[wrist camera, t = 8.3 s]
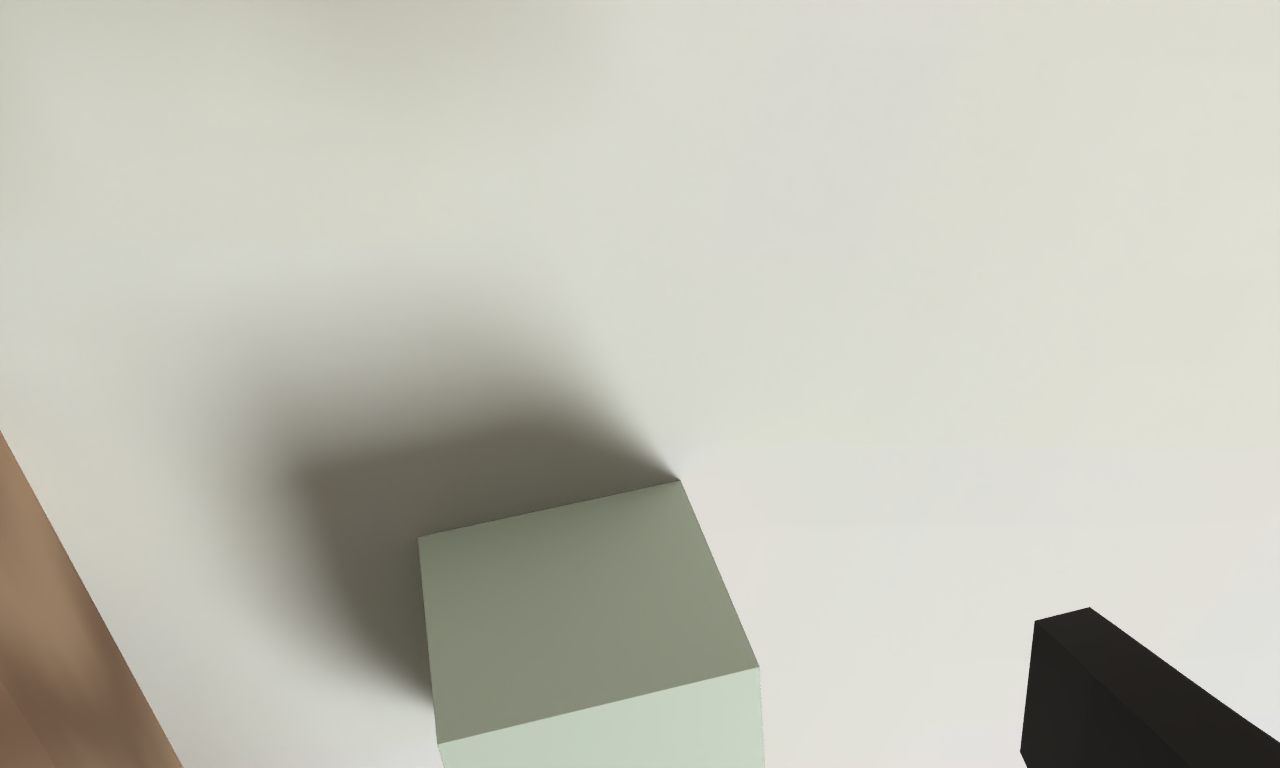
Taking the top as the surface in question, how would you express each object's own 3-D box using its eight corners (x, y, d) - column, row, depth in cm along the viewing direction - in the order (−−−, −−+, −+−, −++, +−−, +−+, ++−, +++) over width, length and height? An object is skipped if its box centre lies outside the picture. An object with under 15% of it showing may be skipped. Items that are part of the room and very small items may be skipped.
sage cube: (697, 662, 25) (770, 863, 21) (465, 718, 24) (493, 937, 20) (679, 478, 22) (759, 667, 18) (417, 534, 21) (436, 744, 17)
